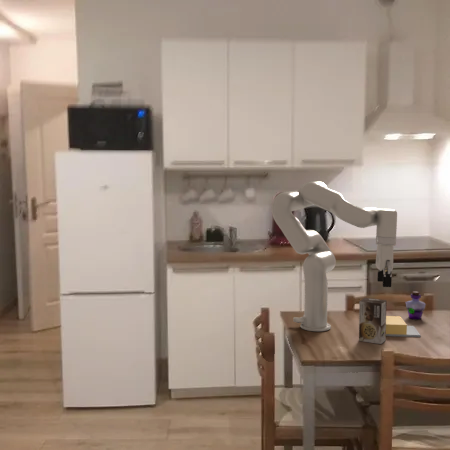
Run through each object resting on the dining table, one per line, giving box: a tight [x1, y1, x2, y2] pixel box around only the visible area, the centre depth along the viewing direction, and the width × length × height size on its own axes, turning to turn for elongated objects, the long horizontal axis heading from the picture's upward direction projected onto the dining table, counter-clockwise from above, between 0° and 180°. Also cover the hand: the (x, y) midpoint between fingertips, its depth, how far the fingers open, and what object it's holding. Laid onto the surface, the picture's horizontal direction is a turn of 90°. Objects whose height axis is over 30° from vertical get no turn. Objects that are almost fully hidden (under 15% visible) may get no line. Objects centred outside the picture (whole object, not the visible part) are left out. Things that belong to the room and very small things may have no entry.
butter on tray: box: [386, 315, 421, 338], centre depth 250 cm, size 22×13×5 cm, turn 85°
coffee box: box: [358, 297, 387, 345], centre depth 238 cm, size 9×6×16 cm
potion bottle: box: [405, 291, 427, 321], centre depth 271 cm, size 9×9×12 cm
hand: (384, 284), depth 239 cm, fingers open, 9 cm apart
